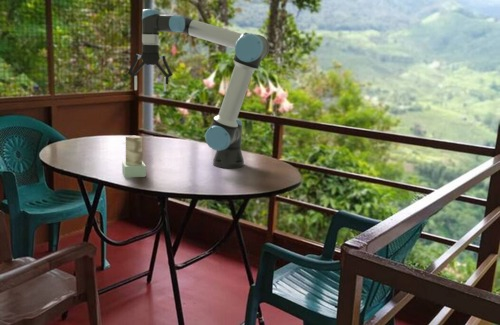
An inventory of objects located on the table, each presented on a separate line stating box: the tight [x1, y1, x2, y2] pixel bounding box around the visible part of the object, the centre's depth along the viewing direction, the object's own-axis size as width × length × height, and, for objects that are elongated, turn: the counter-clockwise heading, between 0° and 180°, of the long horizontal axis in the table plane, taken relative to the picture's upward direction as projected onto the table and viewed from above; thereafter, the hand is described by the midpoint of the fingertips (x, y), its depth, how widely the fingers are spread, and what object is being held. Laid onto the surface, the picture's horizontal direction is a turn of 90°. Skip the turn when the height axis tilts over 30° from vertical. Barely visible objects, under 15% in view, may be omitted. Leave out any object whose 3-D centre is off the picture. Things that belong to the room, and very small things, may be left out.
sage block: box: [121, 160, 147, 179], centre depth 226 cm, size 9×9×5 cm
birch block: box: [125, 135, 143, 166], centre depth 224 cm, size 5×5×12 cm
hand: (150, 90), depth 241 cm, fingers open, 13 cm apart
